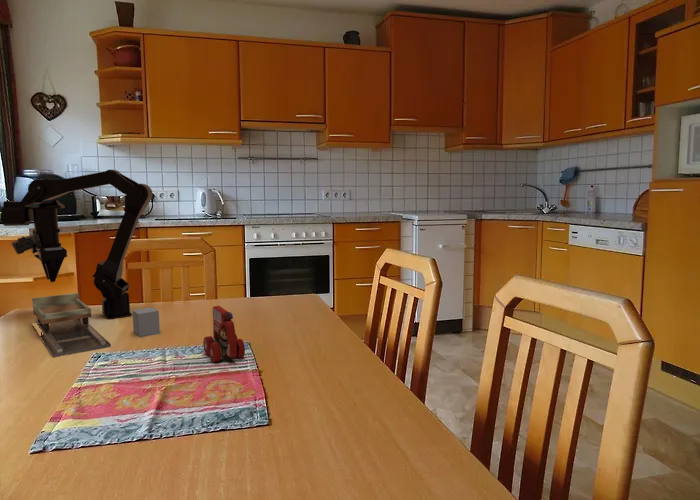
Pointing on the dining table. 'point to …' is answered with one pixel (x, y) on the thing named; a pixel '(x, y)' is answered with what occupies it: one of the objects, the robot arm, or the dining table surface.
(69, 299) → the cart
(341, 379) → the dining table surface
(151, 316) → the part block
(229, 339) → the toy fire truck
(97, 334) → the track
